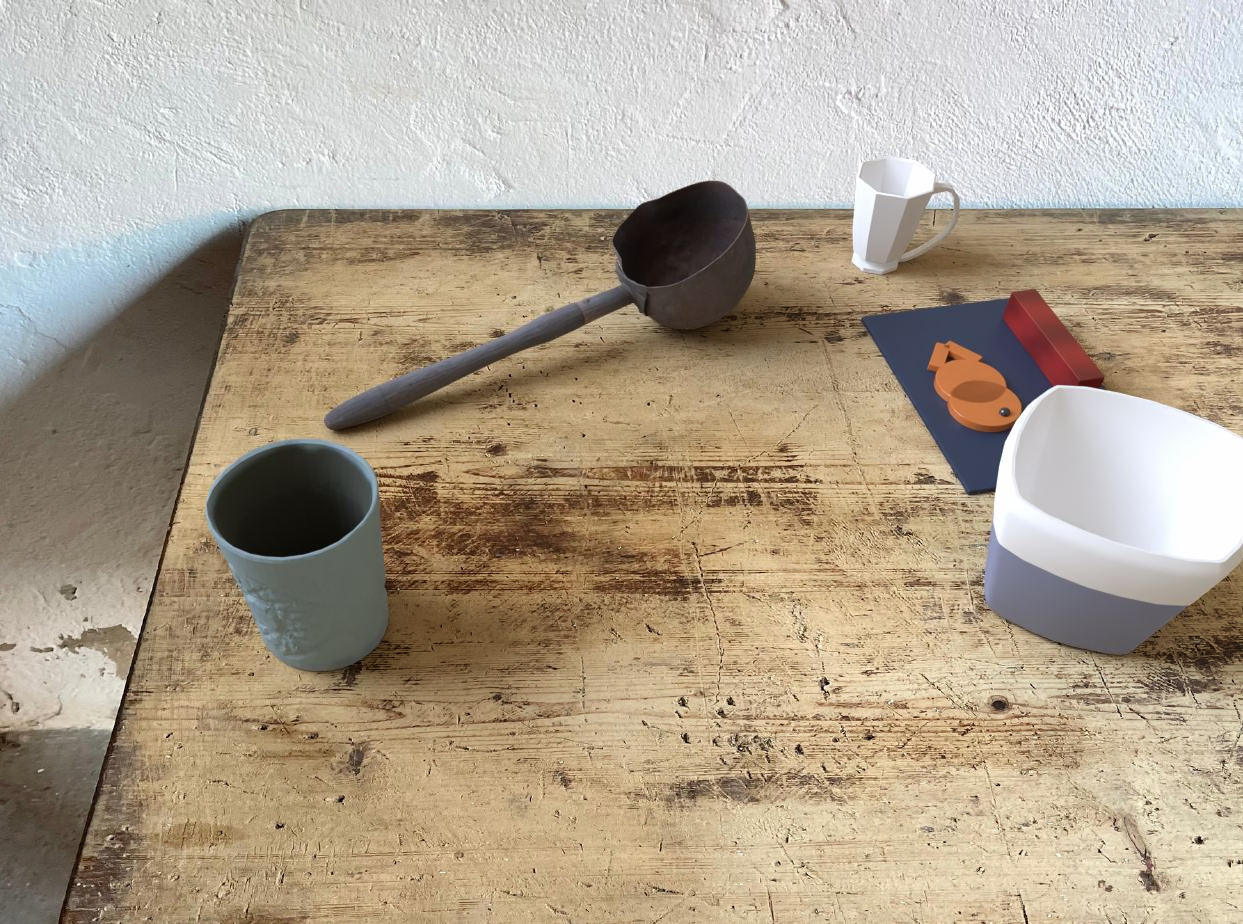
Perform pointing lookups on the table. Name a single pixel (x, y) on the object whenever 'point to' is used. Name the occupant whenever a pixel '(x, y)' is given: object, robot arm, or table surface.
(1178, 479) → the bowl
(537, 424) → the table surface
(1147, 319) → the table surface
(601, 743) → the table surface
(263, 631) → the blue green tumbler
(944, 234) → the cup
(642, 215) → the ladle
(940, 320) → the towel
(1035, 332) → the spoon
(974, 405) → the fish
